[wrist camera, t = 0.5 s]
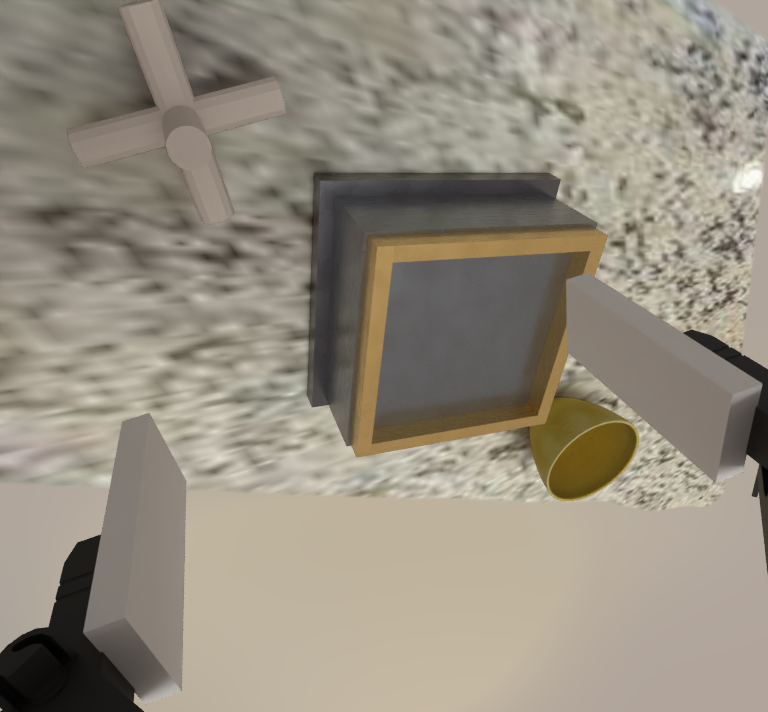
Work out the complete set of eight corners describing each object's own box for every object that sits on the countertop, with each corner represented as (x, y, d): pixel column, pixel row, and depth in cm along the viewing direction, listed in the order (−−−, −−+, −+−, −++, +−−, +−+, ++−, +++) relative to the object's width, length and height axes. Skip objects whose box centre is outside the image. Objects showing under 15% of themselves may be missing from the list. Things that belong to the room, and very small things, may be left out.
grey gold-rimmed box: (314, 173, 36) (356, 225, 29) (592, 173, 44) (678, 214, 37) (307, 395, 46) (338, 473, 39) (535, 364, 53) (594, 425, 46)
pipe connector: (234, -26, 29) (270, -19, 21) (285, 164, 35) (328, 222, 28) (33, 19, 27) (-6, 44, 20) (124, 210, 33) (122, 286, 26)
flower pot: (539, 369, 54) (585, 416, 49) (609, 382, 59) (658, 426, 53) (491, 449, 58) (528, 500, 53) (561, 454, 63) (601, 502, 58)
